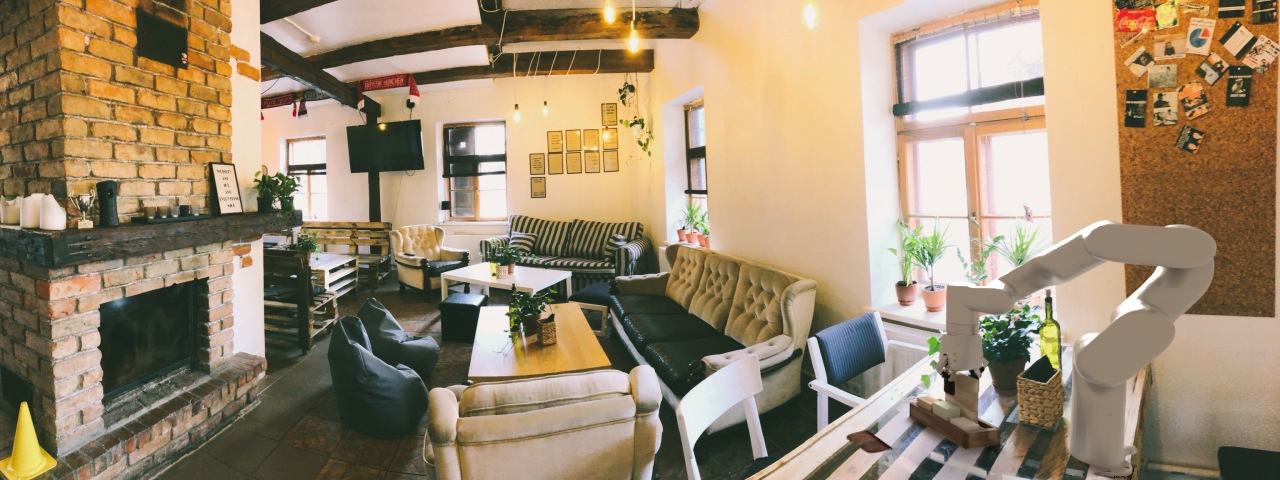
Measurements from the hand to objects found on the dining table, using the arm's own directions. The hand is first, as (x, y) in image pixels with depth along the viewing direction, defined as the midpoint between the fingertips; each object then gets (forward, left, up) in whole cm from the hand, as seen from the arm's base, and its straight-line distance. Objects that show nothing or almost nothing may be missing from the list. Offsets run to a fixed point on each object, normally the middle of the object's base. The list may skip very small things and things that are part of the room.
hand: (961, 391), depth 137 cm
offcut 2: (+5, +6, -10) cm, 13 cm away
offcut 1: (+5, -6, -10) cm, 13 cm away
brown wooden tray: (+3, 0, -12) cm, 12 cm away
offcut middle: (+5, 0, -10) cm, 11 cm away
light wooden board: (0, 0, -10) cm, 10 cm away
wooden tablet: (+18, -3, -13) cm, 22 cm away
